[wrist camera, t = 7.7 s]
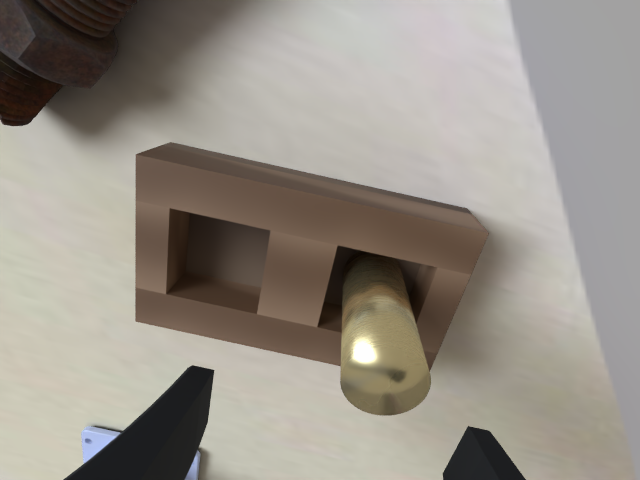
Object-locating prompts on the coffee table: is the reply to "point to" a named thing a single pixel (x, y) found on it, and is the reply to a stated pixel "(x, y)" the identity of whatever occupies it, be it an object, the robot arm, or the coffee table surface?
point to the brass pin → (380, 338)
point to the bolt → (53, 50)
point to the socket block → (284, 251)
